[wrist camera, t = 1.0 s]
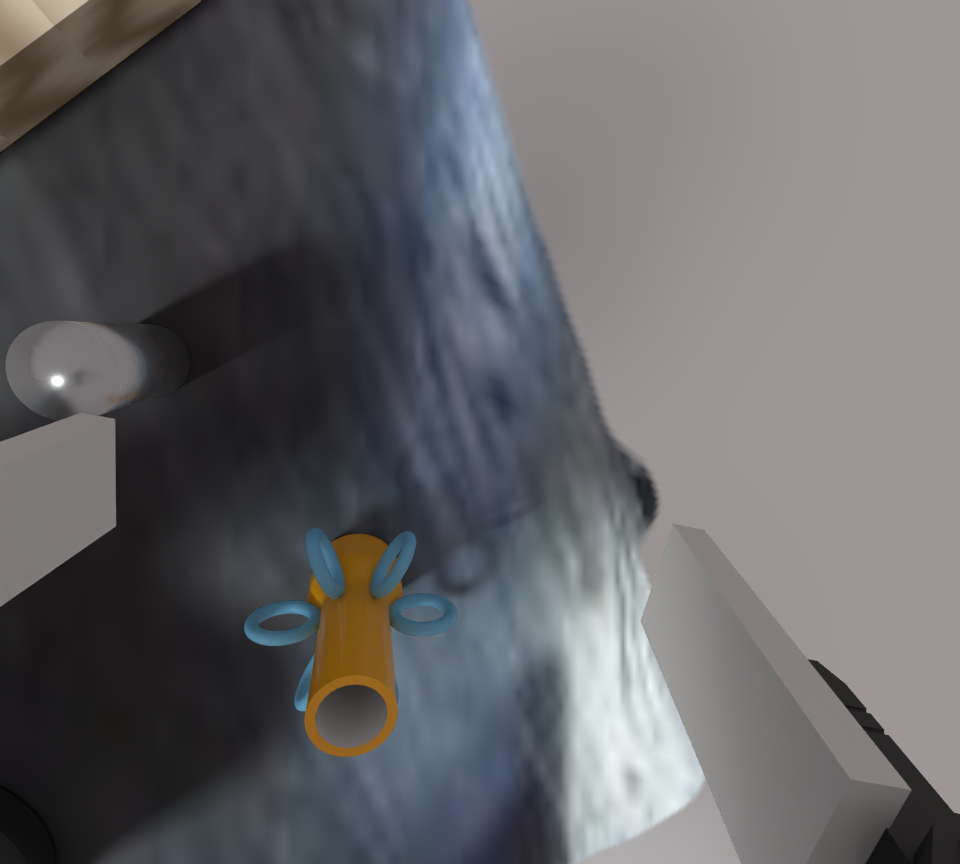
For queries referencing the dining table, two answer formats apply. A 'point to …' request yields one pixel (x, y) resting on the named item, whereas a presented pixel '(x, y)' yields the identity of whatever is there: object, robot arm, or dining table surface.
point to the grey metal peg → (94, 366)
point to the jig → (67, 50)
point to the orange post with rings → (351, 637)
